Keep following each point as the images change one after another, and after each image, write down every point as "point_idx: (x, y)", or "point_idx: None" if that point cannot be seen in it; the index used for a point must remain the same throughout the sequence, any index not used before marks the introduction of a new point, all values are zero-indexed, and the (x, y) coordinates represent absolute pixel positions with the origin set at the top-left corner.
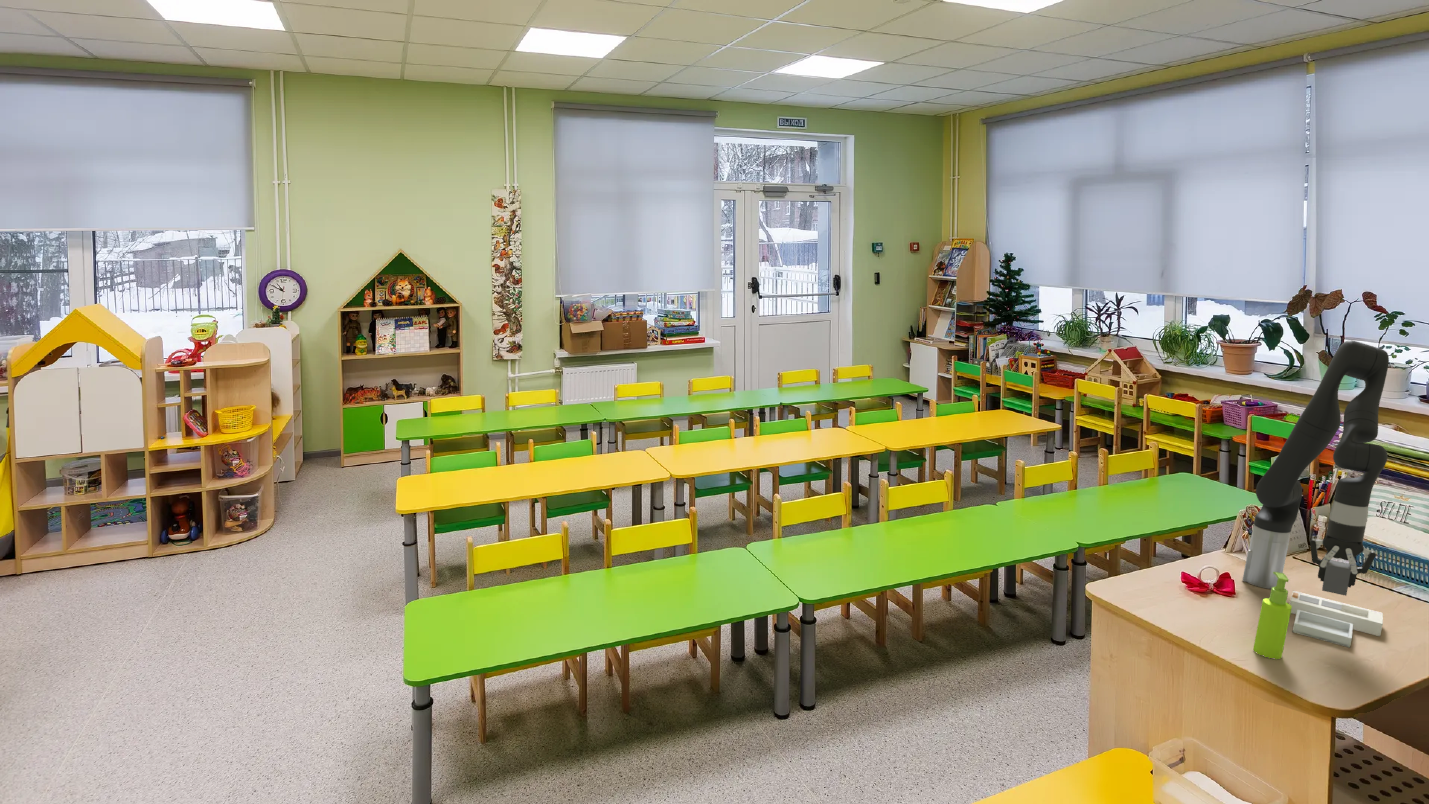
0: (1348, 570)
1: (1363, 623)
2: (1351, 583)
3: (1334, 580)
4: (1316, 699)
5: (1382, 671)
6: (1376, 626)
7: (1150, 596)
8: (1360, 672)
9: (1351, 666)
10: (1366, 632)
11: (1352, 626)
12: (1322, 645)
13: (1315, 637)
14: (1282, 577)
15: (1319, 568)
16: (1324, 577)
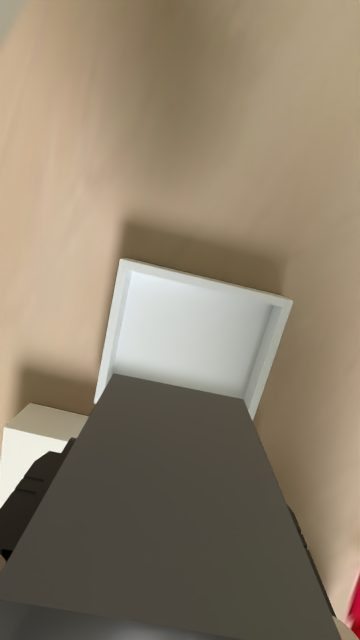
0: (35, 571)
1: (61, 429)
2: (57, 466)
3: (191, 447)
4: None
5: (60, 91)
6: (27, 422)
7: None
8: (133, 26)
9: (153, 72)
10: (61, 410)
11: (98, 378)
12: (210, 227)
13: (220, 280)
14: None
15: (326, 599)
16: (271, 469)
